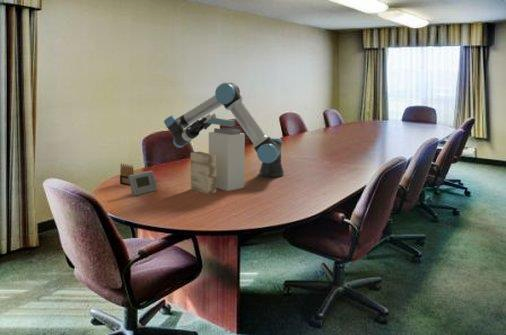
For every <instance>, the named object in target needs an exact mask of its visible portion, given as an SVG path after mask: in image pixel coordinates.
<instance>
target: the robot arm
mask: <svg viewBox="0 0 506 335" xmlns="http://www.w3.org/2000/svg"><path fill="white" fill-rule="evenodd" d="M222 106H223V107H224V108H225V110H227V111H230V112H231V114H232V116H233V117H234V118H235V120H236V121H237V122H238V124H239V125H240V127H241V128H242V130H244V133H246V135H247V137H248V138H249V139H250V141H251V142H252V143H253V145H252V146H253V148H252V149H254V151H255V153H256V156H257V158H258V160H259V161H260V162H261V165H260V169H259V174H258V175H260V176H262V177H267V178H268V177H269V178H278V177H283V176H284V175H285V174H284V170H283V169H284V168H283V165H282V144H283V142H282V138H277V137H275V138H274V137H273V138H272V137H270V135H266V134H265V133H264V131H263V130H262V129H261V127H260V125H259V124H258V122H257V121H256V120H255V118H254V117H253V116H252V114H251V113H250V111H249V110H248V108H247V107H246V105H245V104H244V103H243V97H242V95H241V91H240V87H239V86H238V85H237V84H236V83H234V82H222V83H221V84H219V85H218V86H217V87H216V89H215V93H214V95H213V96H211V97H210V98H208V99H207V100H205V101H204V102H201V103H200V104H199V105H197V106H195V107H194V108H192V109H191V110H189V111H186V112H185V113H184V114H183V115H180V116H178V117H176V116H175V115H170V116H167V117H166V118H165V119H164V120H163V123H164V124H165V127H166V128H167V129H168V131H169V132H170V134H171V135H172V138H173V140H172V141H173V142H172V143H173V145H174V146H175V147H176V148H180V149H181V148H183V147H185V146H186V145H188V144H189V143H190V142H192V141H193V140H194V139H196V138H197V137H198V136H199V134H200V132H201V131H203V130H205V131H206V130H207V129H208V128H209V127H210V126H211V125H212V124H209V123H206V122H207V121H209V120H210V119H211V118H217V115H216V113H213V114H212V115H211V114H210V113H212V112H213V111H215V110H217V109H219V108H220V107H222ZM202 117H204V118H203V119H202ZM203 122H204V123H203Z"/></svg>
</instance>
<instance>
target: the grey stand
mask: <svg viewBox="0 0 506 335" xmlns="http://www.w3.org/2000/svg"><path fill="white" fill-rule="evenodd" d="M245 143H246V140H245V132H244V133H243V132H241V130H240V129H232V128H226V127H220V128H213V131H209V132H208V153H209V154H214V155H216V189H219V190H223V191H226V192H230V191H234V190H239V189H242V188H243V189H244V188H245Z"/></svg>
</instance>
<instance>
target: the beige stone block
mask: <svg viewBox="0 0 506 335" xmlns="http://www.w3.org/2000/svg"><path fill="white" fill-rule="evenodd" d="M190 189H191V190H194V191H197V192H198V193H199V192H200V193H202V194H206V195H209V194H214V193H217V188H216V155H214V154H209V152H203V151H193V152H190Z"/></svg>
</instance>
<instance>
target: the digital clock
mask: <svg viewBox="0 0 506 335" xmlns="http://www.w3.org/2000/svg"><path fill="white" fill-rule="evenodd" d="M128 179H129V182H130V186H129V187H130V189H131V194H132V195H133V197H136V196H142V195H146V194H150V193H153V192H157V190H158V184H157V182H156V178H155V174H154V171H153V170H149V171H143V172H138V173H134V174H133V175H129V176H128Z"/></svg>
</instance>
